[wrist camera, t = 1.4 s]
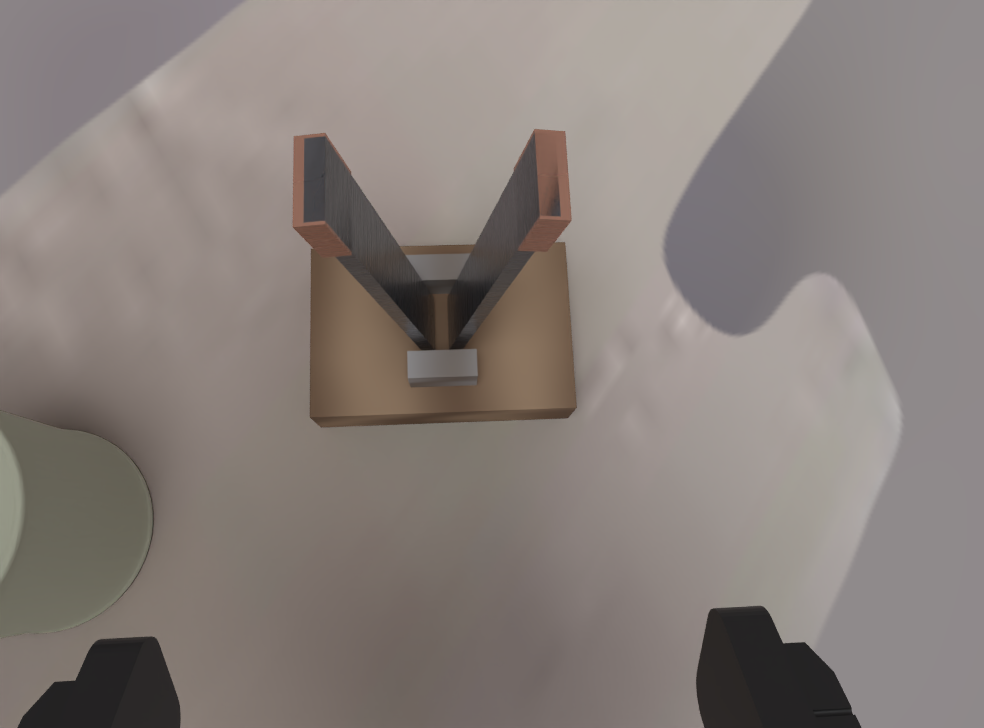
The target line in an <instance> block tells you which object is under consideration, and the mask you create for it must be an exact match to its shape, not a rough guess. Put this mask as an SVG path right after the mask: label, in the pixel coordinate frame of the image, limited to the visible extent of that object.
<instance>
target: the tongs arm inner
mask: <svg viewBox="0 0 984 728" xmlns="http://www.w3.org/2000/svg"><path fill="white" fill-rule="evenodd" d="M293 228H294V229H295V230H296V231H297V232H298V233H299V234H300V235H301V236H302V237H303V238H304V239H305V240H306V241H307V242H308V243H309V244H310V245H311V246H312V248H313V249H314V250H315V251H316V252H317V253H318V254H319V255H320V256H321V257H322V258H327V257H336V258H337V260H338V261H339V262H340V263H341V264H342V265H343V266H344V267H345V268H346V269H347V270H348V271H349V272H350V274H351V275H352V276H353V277H354V278H355V279H356V280H357V281H358V282H359V283H360V284H361V285H362V287H363V288H364V289H365V290H366V291H367V292H368V293H369V294H370V295H371V296H372V297H373V298H374V300H375V301H376V302H377V303H378V304H379V305H380V306H381V307H382V308H383V309H384V310H385V311H386V312H387V314H388V315H389V316H390V317H391V318H392V319H393V320H394V321H395V322H396V323H397V324H398V325H399V327H400V328H401V329H402V330H403V331H404V332H405V333H406V334H407V335H408V336H409V337H410V338H411V340H412V341H413V342H414V343H415V344H416V345H417V346H418V347H419V348H420V349H421V350H422V351H426V350H436V347H435V313H434V297H433V295H432V294H431V292H430V291H429V289H428V288H427V286H426V285H425V283H424V282H423V281H422V279H421V278H420V276H419V275H418V273H417V272H416V270H415V269H414V267H413V266H412V264H411V263H410V261H409V260H408V258H407V257H406V255H405V254H404V252H403V251H402V249H401V248H400V246H399V245H398V243H397V242H396V240H395V239H394V238H393V236H392V235H391V233H390V232H389V230H388V229H387V227H386V226H385V224H384V223H383V221H382V220H381V218H380V217H379V215H378V214H377V212H376V211H375V209H374V208H373V206H372V205H371V203H370V202H369V200H368V199H367V198H366V196H365V195H364V193H363V192H362V190H361V189H360V187H359V186H358V184H357V183H356V181H355V180H354V178H353V177H352V175H351V171H350V169H349V168H348V166H347V165H346V163H345V162H344V160H343V159H342V157H341V156H340V154H339V153H338V151H337V150H336V148H335V147H334V145H333V144H332V142H331V141H330V139H329V138H328V136H327V135H326V133H320V134H311V135H302V136H294V167H293Z"/></svg>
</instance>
